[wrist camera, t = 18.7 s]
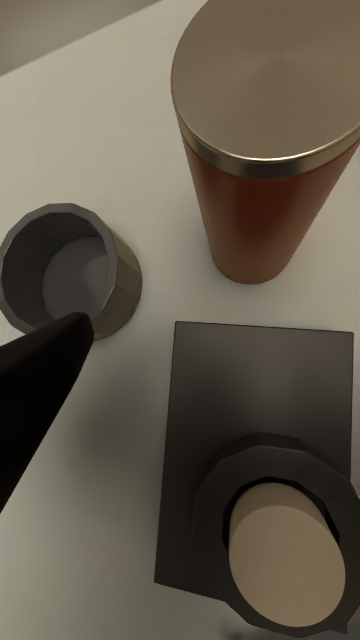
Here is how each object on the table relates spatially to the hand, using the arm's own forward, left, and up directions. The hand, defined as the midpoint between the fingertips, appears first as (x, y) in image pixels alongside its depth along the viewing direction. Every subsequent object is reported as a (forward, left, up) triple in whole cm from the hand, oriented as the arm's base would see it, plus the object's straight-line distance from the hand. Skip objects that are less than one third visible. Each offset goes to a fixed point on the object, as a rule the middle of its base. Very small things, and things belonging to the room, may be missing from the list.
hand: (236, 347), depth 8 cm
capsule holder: (+3, +9, -7) cm, 12 cm away
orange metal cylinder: (+6, 0, -7) cm, 9 cm away
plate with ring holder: (-5, -1, -7) cm, 9 cm away
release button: (-7, -2, -4) cm, 8 cm away
